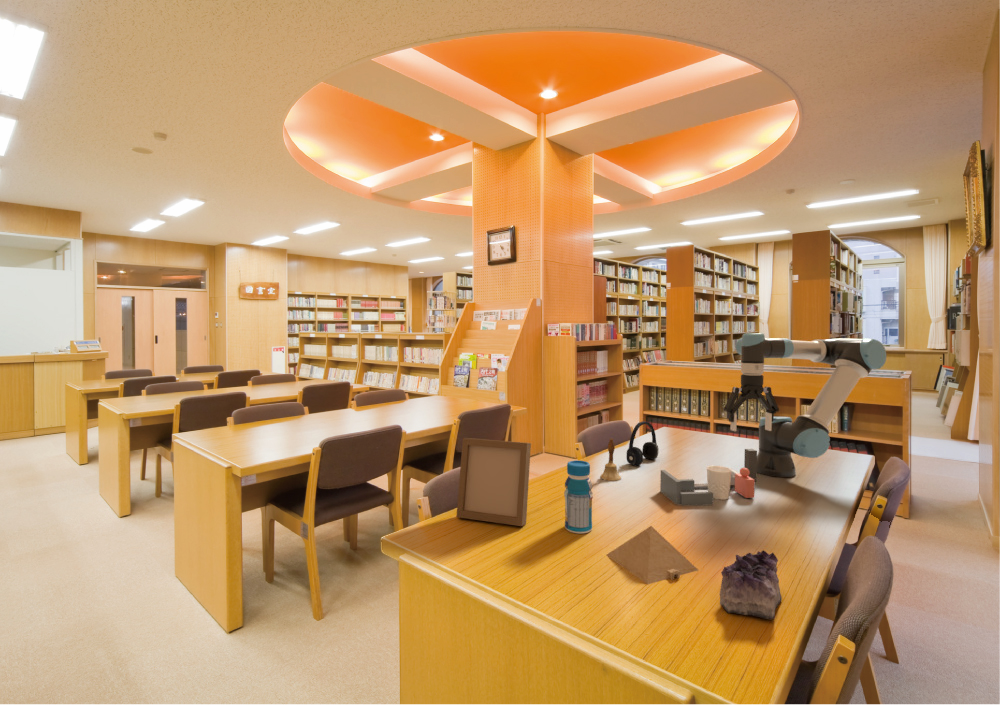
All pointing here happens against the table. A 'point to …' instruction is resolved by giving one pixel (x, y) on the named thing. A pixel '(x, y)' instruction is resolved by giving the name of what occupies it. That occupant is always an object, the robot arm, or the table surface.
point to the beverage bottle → (578, 498)
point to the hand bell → (610, 465)
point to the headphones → (648, 448)
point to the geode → (751, 586)
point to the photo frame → (494, 481)
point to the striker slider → (746, 475)
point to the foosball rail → (706, 486)
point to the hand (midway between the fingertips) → (750, 430)
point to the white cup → (719, 481)
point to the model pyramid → (651, 557)
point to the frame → (675, 491)
